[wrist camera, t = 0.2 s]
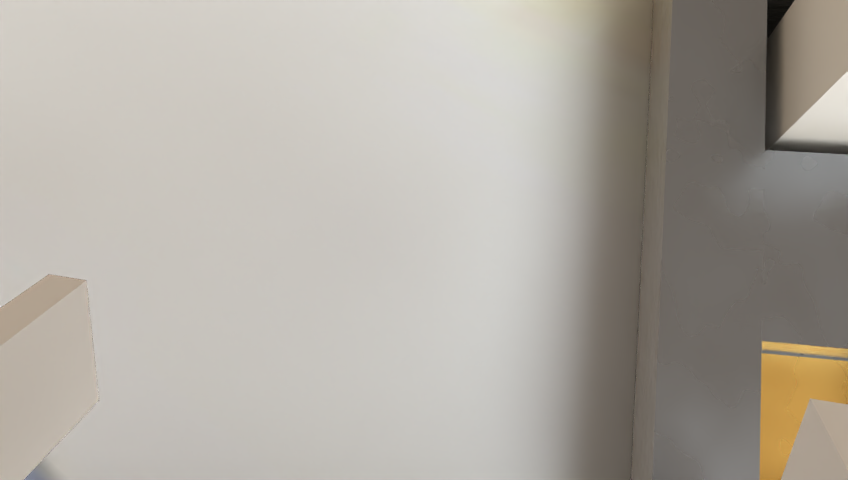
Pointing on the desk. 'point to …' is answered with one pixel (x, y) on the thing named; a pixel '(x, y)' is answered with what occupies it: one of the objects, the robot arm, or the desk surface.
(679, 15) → the panel block
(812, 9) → the plug
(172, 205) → the desk surface
